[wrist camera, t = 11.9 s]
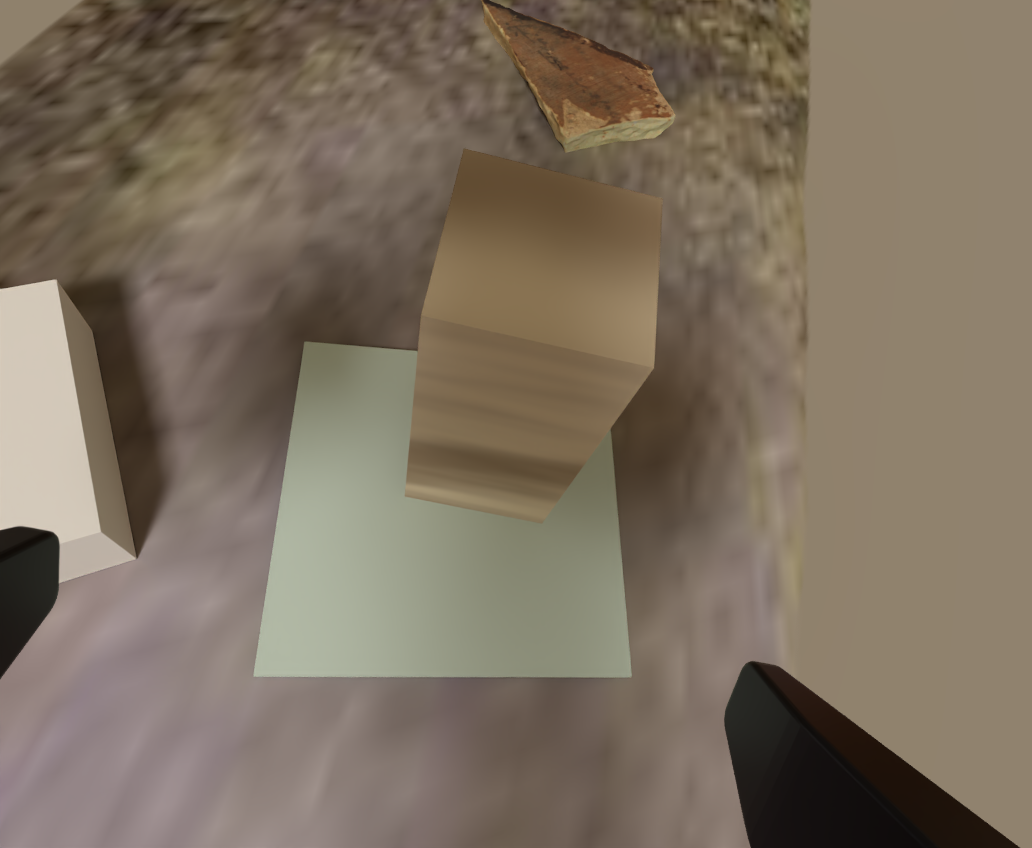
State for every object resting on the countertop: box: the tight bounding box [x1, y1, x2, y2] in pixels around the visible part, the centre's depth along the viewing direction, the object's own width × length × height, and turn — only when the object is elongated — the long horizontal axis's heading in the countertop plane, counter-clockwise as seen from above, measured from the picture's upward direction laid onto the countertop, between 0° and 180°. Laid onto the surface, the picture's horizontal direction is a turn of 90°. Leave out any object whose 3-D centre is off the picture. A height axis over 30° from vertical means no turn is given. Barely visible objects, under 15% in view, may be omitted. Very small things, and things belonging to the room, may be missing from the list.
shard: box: [481, 0, 675, 152], centre depth 35 cm, size 11×8×2 cm
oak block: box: [405, 149, 663, 523], centre depth 20 cm, size 5×5×11 cm
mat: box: [253, 341, 632, 678], centre depth 24 cm, size 12×12×1 cm
